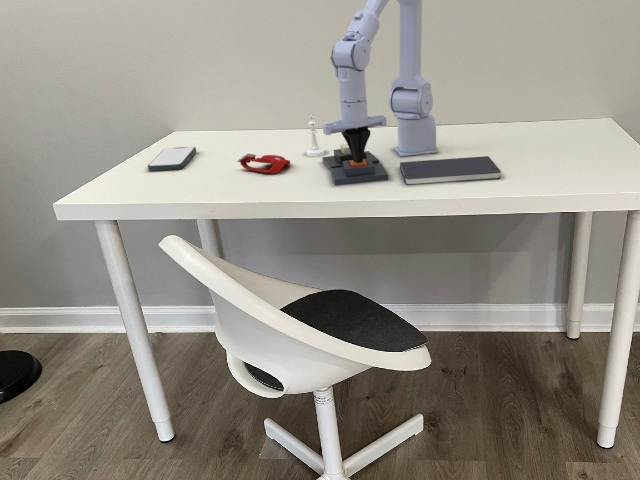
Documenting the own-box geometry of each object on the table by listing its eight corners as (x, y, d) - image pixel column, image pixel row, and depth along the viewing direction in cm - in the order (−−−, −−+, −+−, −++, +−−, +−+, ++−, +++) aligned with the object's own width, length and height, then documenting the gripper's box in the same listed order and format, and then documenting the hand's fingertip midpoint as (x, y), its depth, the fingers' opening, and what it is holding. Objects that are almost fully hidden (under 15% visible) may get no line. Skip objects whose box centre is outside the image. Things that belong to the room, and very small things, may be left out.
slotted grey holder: (381, 169, 148) (380, 155, 146) (388, 180, 140) (387, 166, 138) (331, 174, 146) (330, 160, 144) (335, 185, 138) (333, 171, 137)
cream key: (355, 150, 153) (354, 143, 152) (359, 153, 150) (358, 146, 149) (340, 151, 152) (340, 144, 151) (344, 155, 149) (343, 148, 148)
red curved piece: (285, 156, 157) (296, 155, 148) (285, 174, 158) (295, 174, 149) (236, 152, 152) (244, 151, 143) (236, 170, 152) (244, 171, 143)
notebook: (488, 162, 149) (400, 168, 147) (488, 155, 148) (399, 162, 147) (501, 178, 138) (405, 185, 136) (501, 171, 137) (405, 178, 136)
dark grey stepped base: (369, 156, 158) (368, 143, 156) (379, 165, 150) (378, 152, 149) (322, 162, 155) (321, 149, 153) (331, 172, 147) (329, 159, 146)
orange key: (365, 166, 144) (364, 158, 143) (367, 170, 141) (367, 163, 140) (349, 167, 143) (349, 160, 143) (351, 172, 140) (351, 164, 139)
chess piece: (321, 156, 160) (317, 116, 155) (303, 156, 161) (298, 116, 156) (327, 151, 164) (323, 112, 159) (309, 150, 165) (305, 112, 160)
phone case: (183, 170, 154) (198, 151, 168) (181, 164, 154) (197, 146, 167) (147, 172, 154) (165, 153, 168) (145, 166, 153) (164, 147, 167)
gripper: (375, 93, 141) (379, 152, 147) (315, 101, 135) (321, 163, 142) (389, 98, 135) (392, 159, 142) (327, 107, 130) (333, 170, 136)
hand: (358, 161), depth 141 cm, fingers closed, pressing on orange key
